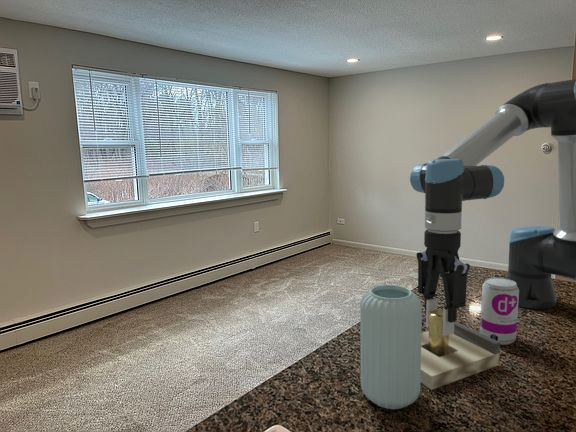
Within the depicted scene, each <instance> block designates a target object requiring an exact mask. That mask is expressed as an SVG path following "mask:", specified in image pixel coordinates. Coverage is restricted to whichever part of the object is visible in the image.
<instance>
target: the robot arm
mask: <svg viewBox="0 0 576 432" xmlns="http://www.w3.org/2000/svg"><path fill="white" fill-rule="evenodd" d="M540 128H550V134H551V135H550V137H552V138H553V139H555V140H556V141H557V156H558V157H557V159H558V167H557V169H558V207H559V208H558V212H559V216H558V217H559V218H558V219H559V223H558V224H559V227H558V228H557V229H555V228H554V227H552V226H541V225H540V226H524V227H523V226H522V227H517V228H514V229H512V230H511V232H510V237H509V242H508V243H509V247H508V249H509V250H508V264H507V265H508V266H507V267H508V269H507V275H506V277H505V279H510V280H513V281H514V282H516V284H517V287H518V289H519V301H518V307H519V308H520V307H521V308H525V309H537V310H542V309H543V310H544V309H545V310H546V309H551V308H554V307H555V306H557V299H558V298H557V293H556V291H555V287H554V283H553V281H552V280H553V279H552V275H553V276H558V277H562V278H565V279H569V280H572V281H576V78H574V79H569V80H561V81H555V82H545V83H541V84H537V85H535V86H532V87H529V88H528V89H526V90H523V91H522V92H520V93H519V94H517V95H515V96H513V97H512V98H510V99H509V100H507V101H506V102H504V103H503V104H502V105H501V106H499V107H498V108H497V110H496V111H495V114H494V115H493V116H492V117H491V118H489V119H488V120H486V121H485V122H484V123H483V124H481V125H480V126H479V127H478V128H476V129H475V130H473V131H472V132H471V133H470V134H468V135H467V136H466V137H464V138H462V140H459V142H457V143H456V144H455V145H454V146H452V147H451V148H449V149H448V150H447V151H446V152H444V153H443V154H441V155H440V156H438V158H435V159H430V160H428V162H427V163H425V162H424V163H421V164H420V163H419V164H416V165H415V167H413V169H411V172H410V174H409V175H410V176H409V183H410V185H411V188H412V189H413V190H415V191H416V192H417V193H422V194H424V195H425V196H424V197H425V198H424V199H425V200H424V202H425V203H424V204H425V206H424V228H425V229H426V230H425V231H424V236H423V238H424V241H423V244H424V247H425V248H426V249H425V251H420V252H419V251H418V252H417V253H416V259H417V267H418V269H417V292H418V294H420V295H422V296H423V298H424V311H425V312H426V313H425V327H426V328H428V329H429V312H430V311H434V310H438V306H439V305H438V302H439V299H438V298H437V297H438V294H437V287H438V285H439V279H440V277H441V279H442V285H443V292H444V299H445V305H444V306H443V308H442V311H443V330H442V335H443V336H448V335H451V334H454V322H457V314H458V313H457V312H458V309H460V308H465V307H466V302H467V286H468V285H467V284H468V282H467V281H468V274H469V271H470V268H471V265H470V264H469V263H463V261H461V260H460V256H459V250H460V248H461V243H462V241H461V239H462V234H461V231H460V230H461V229H462V212H463V210H462V209H463V202H465V201H471V200H472V201H473V200H486V199H490V198H494V197H496V196H498V195H500V193H501V192H502V191H503V189H504V186H505V176H504V173H503V171H502V170H501V169H500V168H499V167H498V166H496V165H493V164H492V165H487V164H485V165H484V164H481V165H478V164H480V163H482V161H484V160H485V159H486V158H487V157H489V156H491V155H492V154H493V153H494V152H495V151H497V150H498V149H499V148H500V147H502V146H503V145H504V144H506V143H507V142H508V141H509V140H510V139H512V138H513V137H517V136H521V135H524V134H525V133H526V132H527V131H530V130H534V129H540Z"/></svg>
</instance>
